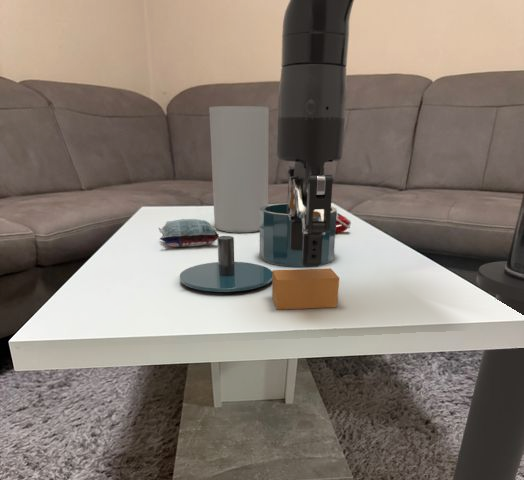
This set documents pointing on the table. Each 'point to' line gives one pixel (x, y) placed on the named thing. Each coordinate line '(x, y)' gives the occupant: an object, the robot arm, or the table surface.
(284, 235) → the pot
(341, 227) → the tracker holder
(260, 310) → the table surface
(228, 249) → the lid
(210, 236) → the packaged food
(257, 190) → the cylinder vase
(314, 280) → the orange rectangular block
